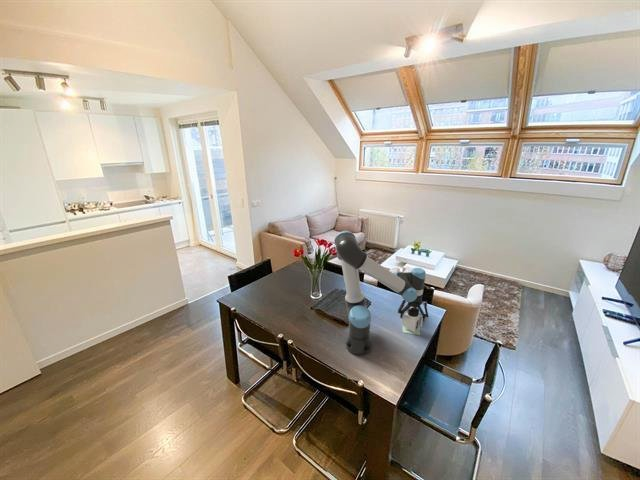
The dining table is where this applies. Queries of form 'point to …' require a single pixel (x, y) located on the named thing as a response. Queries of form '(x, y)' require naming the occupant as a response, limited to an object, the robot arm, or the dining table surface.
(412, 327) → the container
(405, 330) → the mat
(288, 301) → the dining table surface
